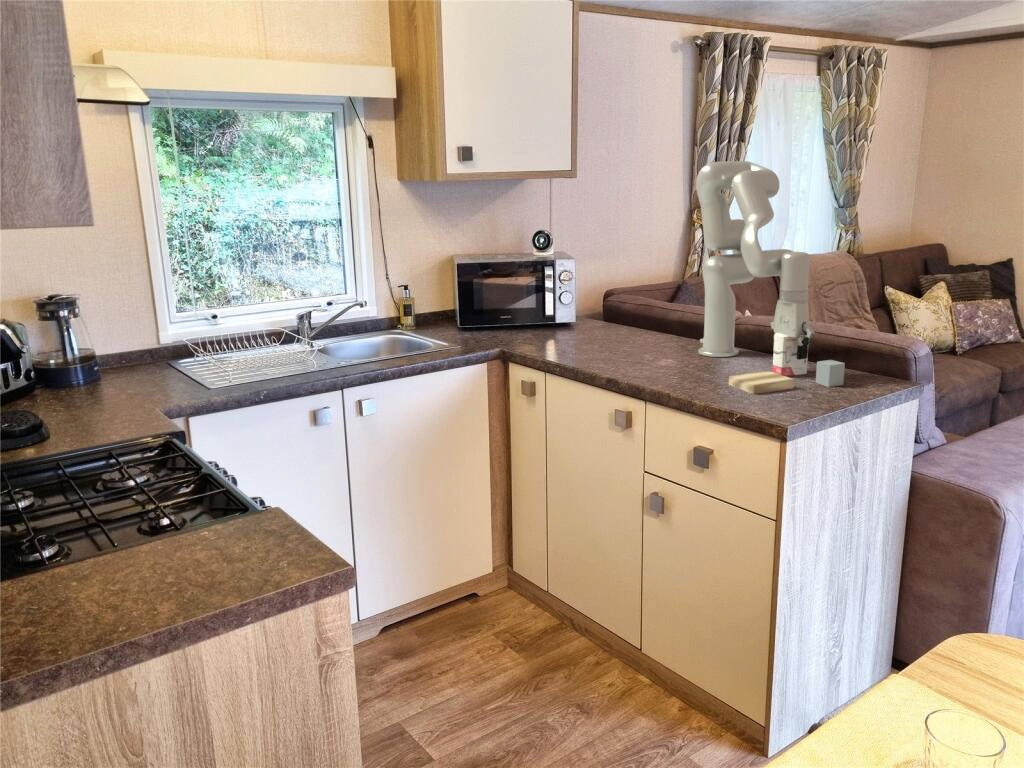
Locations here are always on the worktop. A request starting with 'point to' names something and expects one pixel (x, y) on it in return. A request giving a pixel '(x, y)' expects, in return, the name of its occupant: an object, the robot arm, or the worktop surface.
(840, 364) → the light gray block
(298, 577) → the worktop surface
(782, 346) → the ink box
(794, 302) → the robot arm
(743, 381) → the oak slab
